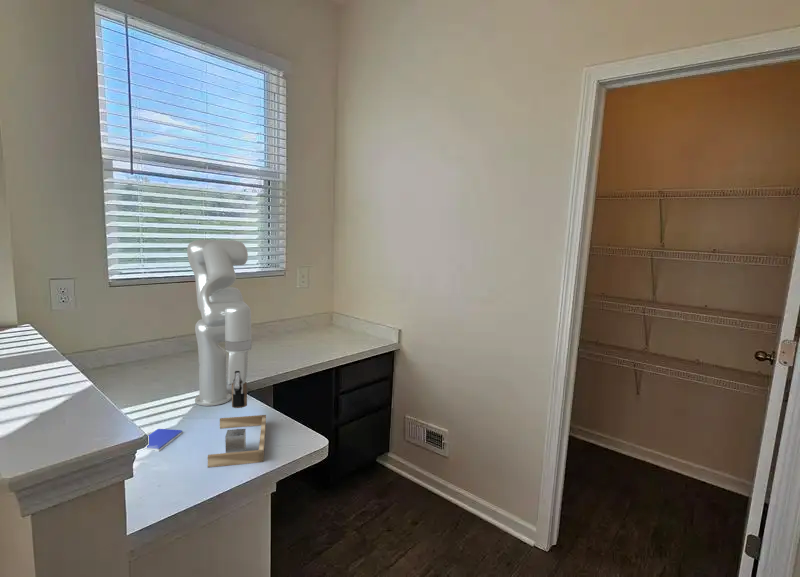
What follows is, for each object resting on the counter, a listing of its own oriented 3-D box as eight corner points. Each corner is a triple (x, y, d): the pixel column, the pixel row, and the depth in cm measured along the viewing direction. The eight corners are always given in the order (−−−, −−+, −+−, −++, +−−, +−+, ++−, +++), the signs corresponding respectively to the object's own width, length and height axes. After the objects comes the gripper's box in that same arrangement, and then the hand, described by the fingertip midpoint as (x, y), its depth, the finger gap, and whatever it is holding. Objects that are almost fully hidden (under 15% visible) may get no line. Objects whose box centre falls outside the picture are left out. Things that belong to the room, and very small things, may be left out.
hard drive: (158, 447, 128) (182, 429, 140) (131, 446, 128) (157, 428, 140) (158, 453, 128) (182, 434, 140) (131, 451, 128) (157, 433, 140)
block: (227, 449, 130) (227, 430, 129) (245, 448, 131) (245, 428, 130) (225, 457, 125) (225, 436, 125) (244, 455, 127) (244, 435, 126)
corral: (220, 427, 145) (220, 418, 144) (266, 423, 149) (266, 414, 148) (207, 467, 119) (207, 456, 119) (263, 461, 123) (263, 451, 123)
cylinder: (232, 403, 140) (232, 381, 139) (247, 402, 141) (247, 380, 140) (231, 408, 136) (230, 386, 135) (246, 407, 137) (246, 385, 136)
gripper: (228, 340, 144) (229, 395, 145) (221, 352, 127) (223, 414, 129) (252, 339, 146) (253, 393, 147) (249, 351, 129) (250, 412, 131)
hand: (239, 402), depth 138 cm, fingers closed on cylinder, 4 cm apart
